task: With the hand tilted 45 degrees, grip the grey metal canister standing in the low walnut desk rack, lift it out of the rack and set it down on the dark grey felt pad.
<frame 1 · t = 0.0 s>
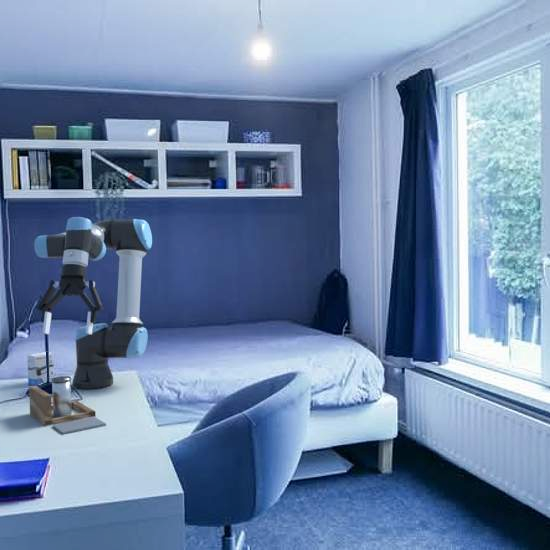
hand: (67, 333, 185), 28 cm above the table, tool tilted 20°, fingers open, 13 cm apart
ink box: (41, 384, 240), on the table
felt pad: (79, 426, 185), on the table
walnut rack: (62, 415, 197), on the table
canister: (62, 415, 197), resting in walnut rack
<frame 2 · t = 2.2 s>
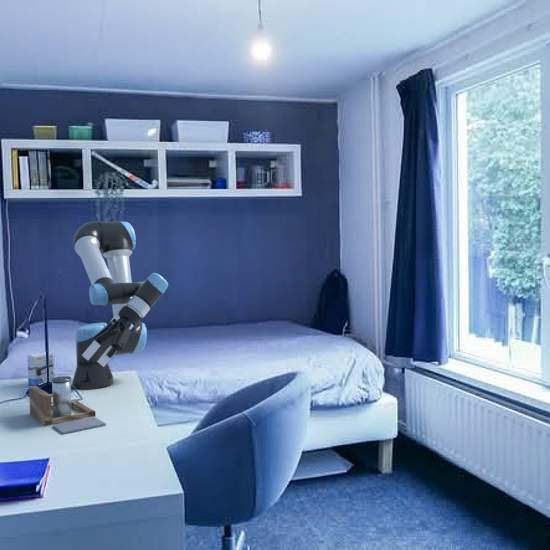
hand: (92, 361, 202), 16 cm above the table, tool tilted 45°, fingers open, 13 cm apart
nothing on the table moved.
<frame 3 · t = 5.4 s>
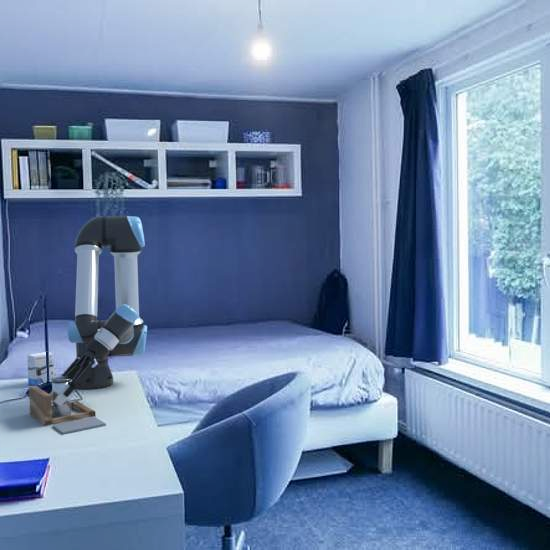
hand: (53, 401, 195), 5 cm above the table, tool tilted 45°, fingers closed on canister, 5 cm apart
canister: (62, 415, 197), resting in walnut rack, touching gripper
everything else where it was.
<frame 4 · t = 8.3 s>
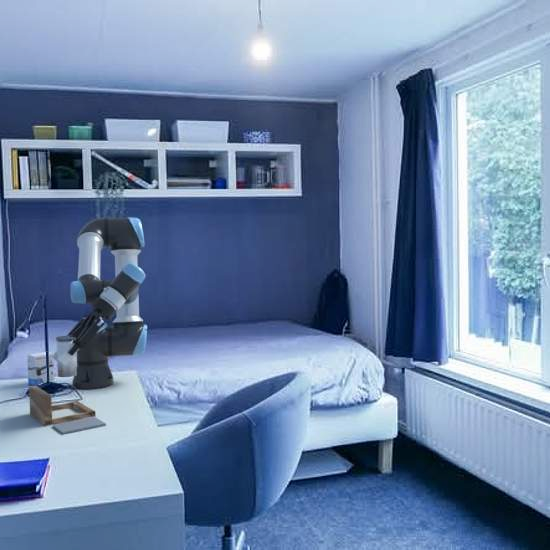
hand: (58, 360, 189), 19 cm above the table, tool tilted 45°, fingers closed on canister, 5 cm apart
canister: (67, 375, 190), point 14 cm above the table, touching gripper
everything else where it was.
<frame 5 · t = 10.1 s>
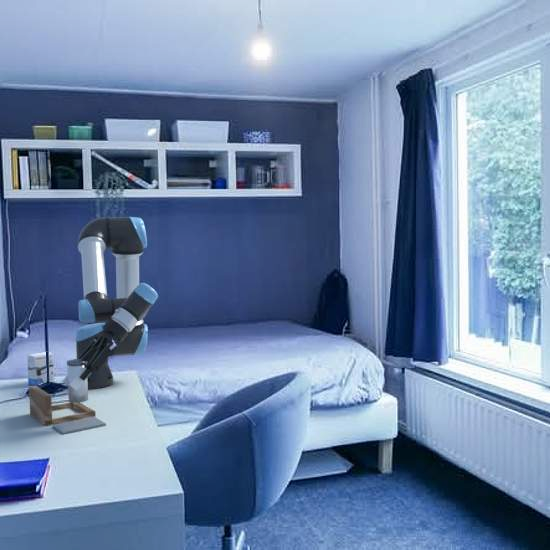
hand: (69, 385, 182), 13 cm above the table, tool tilted 45°, fingers closed on canister, 5 cm apart
canister: (78, 400, 184), point 8 cm above the table, touching gripper
everything else where it was.
when the fingers open (7 cm above the table, at t = 11.4 s): canister drops 1 cm, resting on felt pad.
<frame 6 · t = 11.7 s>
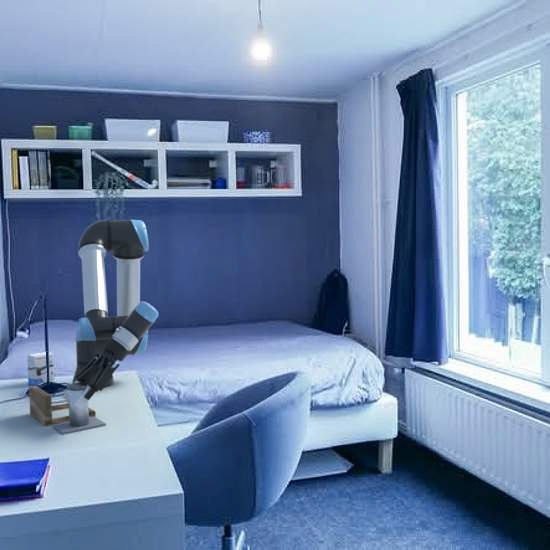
hand: (71, 403, 183), 7 cm above the table, tool tilted 45°, fingers open, 9 cm apart
canister: (79, 424, 185), point 1 cm above the table, touching felt pad
everything else where it was.
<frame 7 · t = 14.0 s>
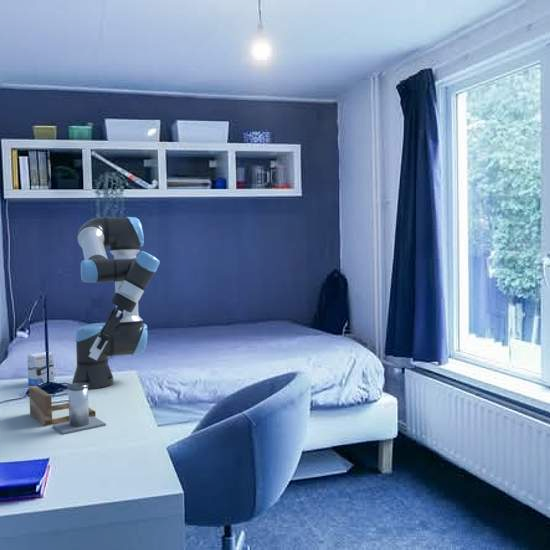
hand: (92, 355, 194), 19 cm above the table, tool tilted 30°, fingers open, 13 cm apart
nothing on the table moved.
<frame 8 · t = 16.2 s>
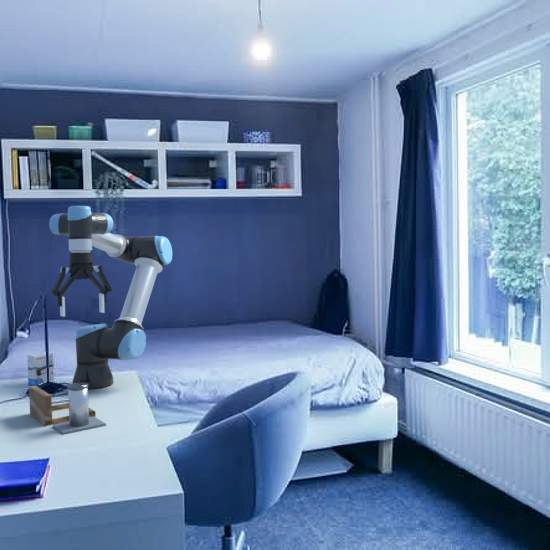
hand: (82, 314, 209), 31 cm above the table, tool pointing down, fingers open, 13 cm apart
nothing on the table moved.
at the end: canister inside the target area on the felt pad (0.1 cm from its centre), point 0.6 cm above the felt pad's base; canister tilted 0°; the gripper is holding nothing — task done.
